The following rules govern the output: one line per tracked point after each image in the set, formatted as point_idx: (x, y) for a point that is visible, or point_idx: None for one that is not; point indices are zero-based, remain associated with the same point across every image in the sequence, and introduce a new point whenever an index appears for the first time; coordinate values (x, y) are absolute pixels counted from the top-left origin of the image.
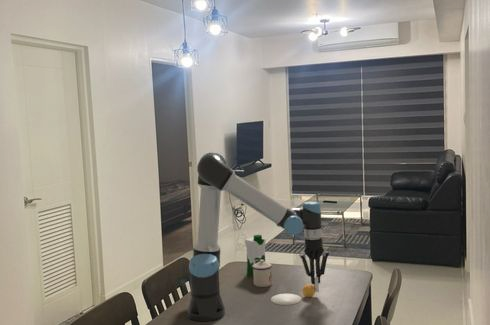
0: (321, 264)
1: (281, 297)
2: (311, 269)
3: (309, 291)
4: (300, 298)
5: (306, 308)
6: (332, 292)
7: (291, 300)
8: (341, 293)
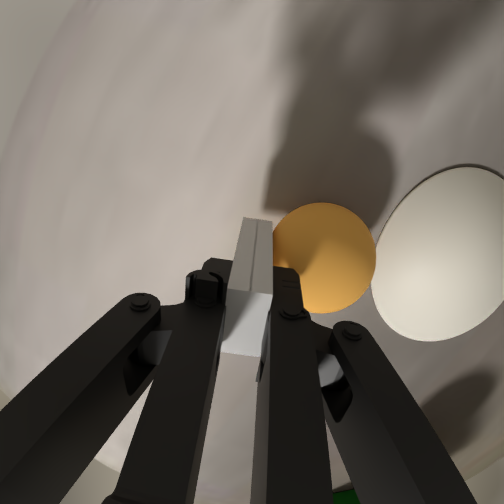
0: (102, 433)
1: (461, 296)
2: (316, 398)
3: (344, 214)
4: (388, 230)
5: (433, 55)
6: (124, 240)
7: (451, 226)
8: (80, 199)
